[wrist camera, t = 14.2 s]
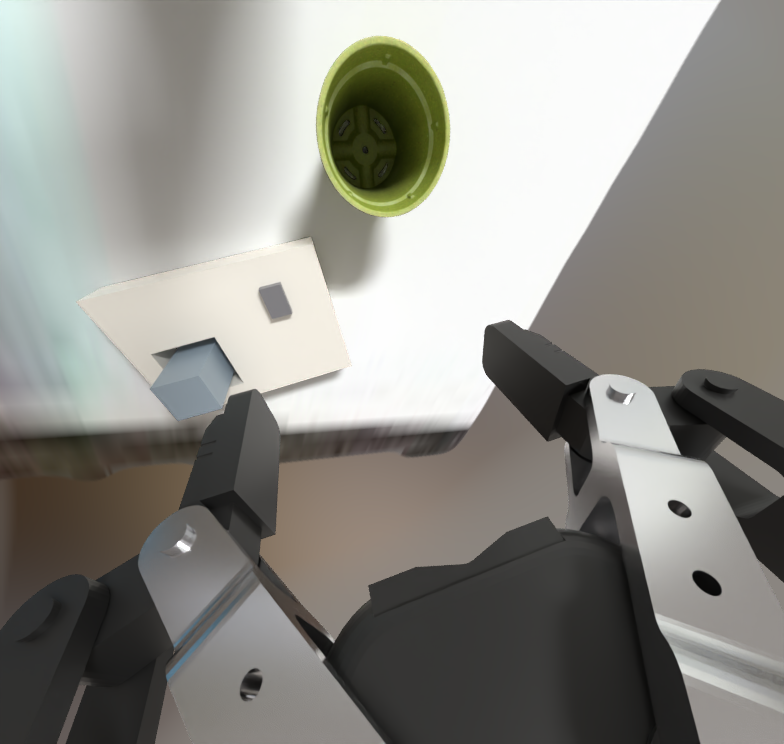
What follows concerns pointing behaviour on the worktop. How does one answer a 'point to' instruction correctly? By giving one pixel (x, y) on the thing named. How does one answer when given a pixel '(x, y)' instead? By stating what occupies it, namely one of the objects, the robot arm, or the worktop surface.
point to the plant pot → (398, 116)
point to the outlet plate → (230, 316)
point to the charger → (194, 379)
